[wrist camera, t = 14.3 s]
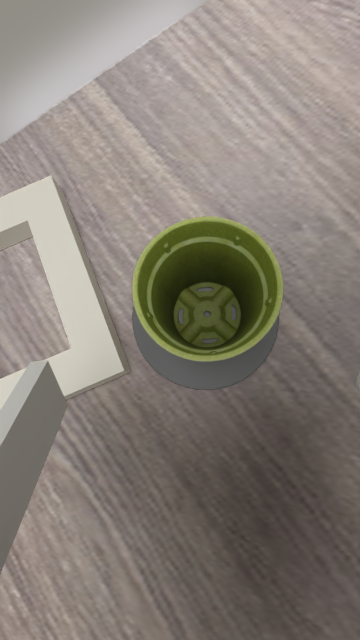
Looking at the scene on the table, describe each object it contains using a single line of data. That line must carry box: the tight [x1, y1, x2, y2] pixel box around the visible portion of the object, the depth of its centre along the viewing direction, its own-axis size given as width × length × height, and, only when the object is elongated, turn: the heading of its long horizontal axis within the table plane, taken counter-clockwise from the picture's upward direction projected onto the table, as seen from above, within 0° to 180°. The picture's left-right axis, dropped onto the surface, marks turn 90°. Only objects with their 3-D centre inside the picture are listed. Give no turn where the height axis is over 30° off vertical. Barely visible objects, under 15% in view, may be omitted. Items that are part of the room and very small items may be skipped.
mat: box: [132, 287, 279, 390], centre depth 28 cm, size 13×13×1 cm
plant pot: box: [132, 217, 283, 362], centre depth 24 cm, size 9×9×9 cm
